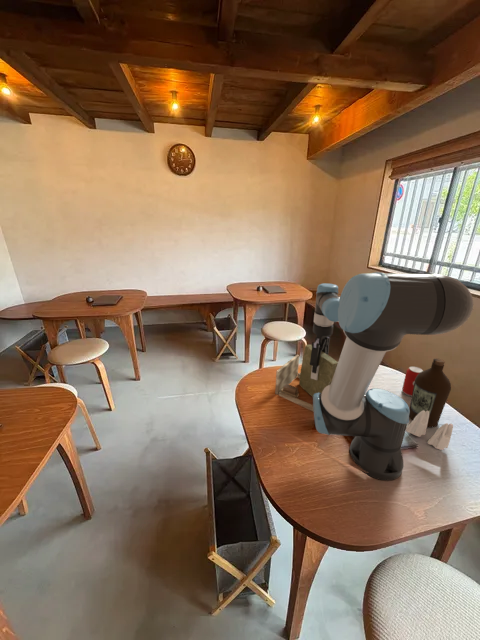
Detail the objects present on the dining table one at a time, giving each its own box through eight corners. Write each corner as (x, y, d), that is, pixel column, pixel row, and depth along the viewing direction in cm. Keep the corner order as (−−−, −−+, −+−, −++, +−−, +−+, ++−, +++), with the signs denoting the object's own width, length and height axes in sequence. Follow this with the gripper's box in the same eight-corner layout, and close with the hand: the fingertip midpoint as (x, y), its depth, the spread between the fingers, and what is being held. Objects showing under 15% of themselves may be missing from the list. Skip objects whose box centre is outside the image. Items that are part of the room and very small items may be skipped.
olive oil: (416, 406, 107) (432, 351, 99) (445, 423, 98) (465, 363, 90) (400, 414, 103) (414, 357, 94) (428, 432, 94) (447, 370, 86)
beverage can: (415, 399, 112) (421, 374, 108) (399, 392, 116) (405, 368, 112) (420, 394, 116) (427, 369, 112) (404, 387, 120) (410, 364, 116)
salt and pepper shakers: (403, 434, 93) (410, 408, 90) (407, 428, 96) (414, 402, 92) (445, 453, 85) (455, 426, 82) (448, 446, 88) (457, 419, 84)
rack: (338, 422, 99) (343, 395, 95) (275, 395, 114) (276, 370, 110) (353, 398, 113) (358, 373, 109) (295, 376, 128) (296, 354, 124)
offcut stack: (295, 400, 111) (295, 391, 110) (280, 394, 115) (280, 385, 114) (298, 397, 114) (299, 388, 112) (283, 391, 118) (284, 382, 116)
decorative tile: (296, 385, 121) (298, 346, 114) (307, 382, 124) (309, 343, 117) (325, 410, 105) (329, 365, 98) (336, 405, 108) (341, 362, 101)
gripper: (323, 333, 94) (316, 388, 102) (341, 319, 108) (334, 369, 116) (303, 328, 98) (299, 382, 106) (323, 315, 113) (317, 363, 120)
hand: (317, 375), depth 111 cm, fingers closed on decorative tile, 6 cm apart
